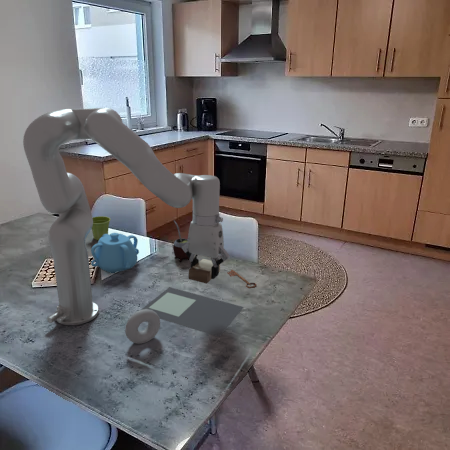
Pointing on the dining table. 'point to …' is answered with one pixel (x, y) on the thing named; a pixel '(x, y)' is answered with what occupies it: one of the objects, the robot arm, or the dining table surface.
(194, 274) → the wooden block
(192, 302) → the mat
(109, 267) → the decorative pot
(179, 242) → the mate gourd
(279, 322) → the dining table surface
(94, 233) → the plant pot
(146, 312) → the donut
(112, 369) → the dining table surface
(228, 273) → the key
